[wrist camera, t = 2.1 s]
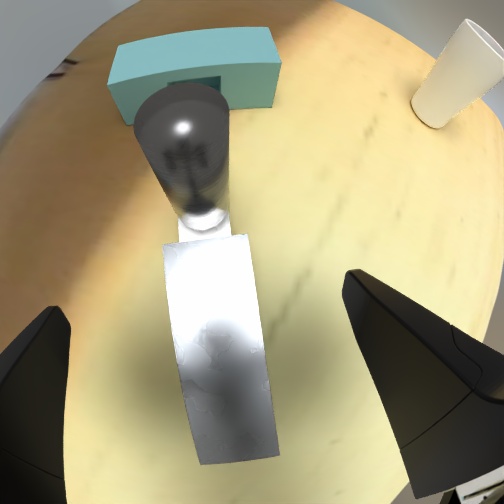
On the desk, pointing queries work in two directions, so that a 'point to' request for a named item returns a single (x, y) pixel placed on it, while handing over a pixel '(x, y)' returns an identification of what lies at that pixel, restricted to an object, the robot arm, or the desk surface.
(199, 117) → the grey piece
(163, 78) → the socket block
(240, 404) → the grey long rectangular block
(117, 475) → the desk surface
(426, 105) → the drinking glass
